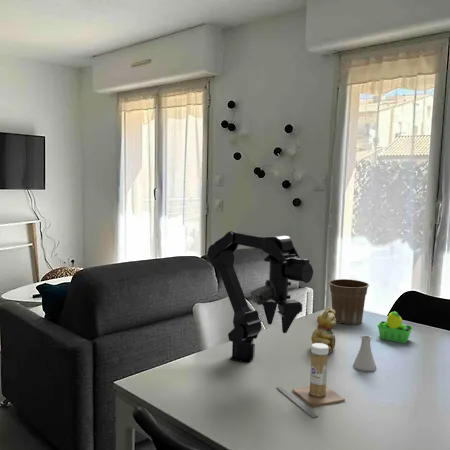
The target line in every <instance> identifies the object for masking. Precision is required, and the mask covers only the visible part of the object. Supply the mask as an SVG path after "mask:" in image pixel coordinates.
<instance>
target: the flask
mask: <svg viewBox="0 0 450 450" xmlns="http://www.w3.org/2000/svg"><path fill="white" fill-rule="evenodd" d="M372 338H373V337H372V336H370V335H367V334H362V335H361V336H360V339H361V342H360V343H361V344H360V348H359V351H358V353H357V355H356V357H355V359H354V362H353V364H352V367H353V368H354V369H355V370H358V371H363V372H375V371H376V370H377V365H376V362H375V358H374V355H373V352H372V346H371V340H372Z"/></svg>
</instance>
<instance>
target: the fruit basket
mask: <svg viewBox="0 0 450 450" xmlns="http://www.w3.org/2000/svg"><path fill="white" fill-rule="evenodd" d="M402 322H403V318H402V317H401V316H400V315H399V313H398V312H397V311H391V312H390V313H389V314H388V316H387V318H386V321H383V320H382V321H381V322H379V323H378V324H377V329H378V332H379V338H380V339H381V340H388V341H393V342H397V343H401V344H406V342H407V341H408V340H409V338H410V335H411V332H412V330H413V326H411V325H407V324H405V323H402Z"/></svg>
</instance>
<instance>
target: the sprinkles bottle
mask: <svg viewBox="0 0 450 450" xmlns="http://www.w3.org/2000/svg"><path fill="white" fill-rule="evenodd" d="M310 352H311V359H310V371H309V372H310V373H309V386H310V390H309V393H310V394H311V395H313V396H316V397H322V396H325V395H326V386H327V381H328V380H327V377H328V356H329V353H328V352H329V347H328V345H326V344H323V343H314V344H313V343H312V344H311V346H310Z"/></svg>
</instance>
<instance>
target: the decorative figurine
mask: <svg viewBox="0 0 450 450" xmlns="http://www.w3.org/2000/svg"><path fill="white" fill-rule="evenodd" d="M335 314H336V312H335V310H333V309H332V306H328V307H327V306H326V307H325V309H324V310H323V312H320V313H319V314H318V315H317V318H316V323H317V324H318V325H317V326H316V328H315V329H314V331H313V332H312V334H311V337H310V338H311V342H312V344H314V343H323V344H326V345H328V347H329V352H328V354H331V352H333V350H334V349H335V346H336V334H335V332H334V329H333V328H334V327H335V326H336V324H337V322H336V318H335V317H334V316H335Z"/></svg>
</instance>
